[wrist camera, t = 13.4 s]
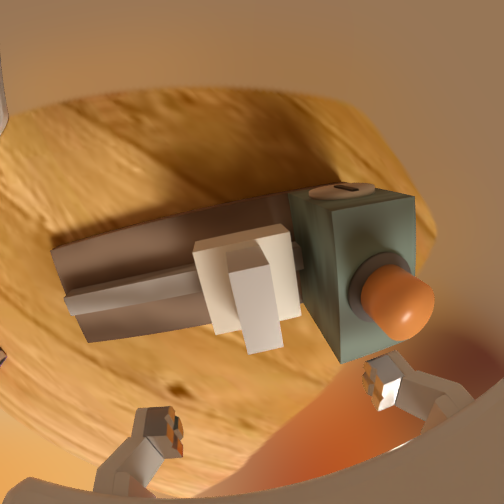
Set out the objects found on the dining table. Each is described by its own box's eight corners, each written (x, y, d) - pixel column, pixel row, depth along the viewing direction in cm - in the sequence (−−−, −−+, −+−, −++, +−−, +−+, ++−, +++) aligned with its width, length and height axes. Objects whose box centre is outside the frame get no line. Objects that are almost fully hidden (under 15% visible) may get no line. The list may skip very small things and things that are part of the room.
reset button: (360, 272, 16) (386, 293, 13) (407, 258, 16) (437, 275, 13) (360, 322, 17) (382, 349, 14) (405, 307, 17) (430, 328, 14)
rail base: (55, 241, 24) (-14, 285, 13) (341, 176, 26) (417, 188, 15) (92, 335, 28) (52, 406, 17) (350, 282, 30) (411, 341, 18)
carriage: (196, 236, 24) (187, 273, 16) (276, 219, 25) (306, 247, 16) (215, 306, 26) (216, 366, 18) (287, 290, 27) (316, 343, 18)
